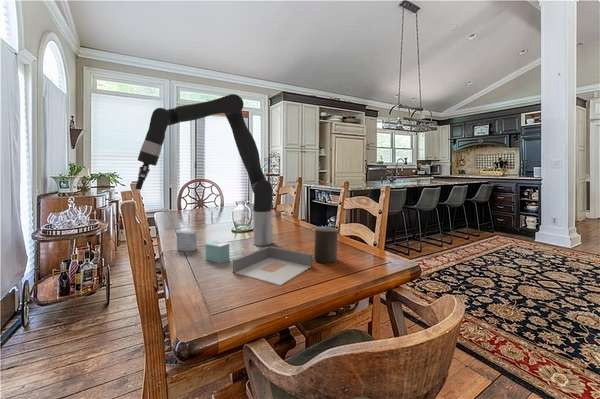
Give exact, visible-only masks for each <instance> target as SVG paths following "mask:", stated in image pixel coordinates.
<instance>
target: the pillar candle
mask: <svg viewBox="0 0 600 399" xmlns="http://www.w3.org/2000/svg"><path fill="white" fill-rule="evenodd" d="M338 235H339V230H338V228H336V227H331V226H317V227H315V228H314V253H313V255H314V256H313V260H314V261H315V260H316V261H318V262H317V263H319V262H321V264H324V263H329V264H332V263H331V262H335V261H336V260H337V261H338ZM316 261H315V262H316ZM337 261H336V262H337ZM336 262H335V263H336Z"/></svg>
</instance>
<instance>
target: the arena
mask: <svg viewBox="0 0 600 399" xmlns="http://www.w3.org/2000/svg"><path fill="white" fill-rule="evenodd" d="M313 255H314V253H313V254H312V253H307V252H303V251H298V250H292V249H288V248H281V247H276V246H271V245H266V246H263V247H261V248H259V249H257V250H254V251H251V252H249V253H246V254H244V255H241V256H239V257H238V256H237V257H235V258H233V259H232V273H234V274H238V275H241V276H245V277H248V278H251V279H256V280H259V281H261V282H266V283H268V284H269V283H270V284H272V285H277V286H280V287H281V286H282V285H284V284H286V283H288V282H290V281H291V280H292V279H294V278H295V277H298V276H299V275H301V274H302V273H304V272H305V270H306V271H307V270H309V269H310V268H312V267H313V260H314V256H313ZM311 266H312V267H311ZM308 268H309V269H308Z"/></svg>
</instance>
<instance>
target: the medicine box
mask: <svg viewBox="0 0 600 399" xmlns="http://www.w3.org/2000/svg"><path fill="white" fill-rule="evenodd" d="M175 234H176V249H177V251H178V252H194V251H196V250H197V249H198V242H197V240H198V239H197V238H198V237H197V231H192V230H190V231H189V230H187V231H186V230H180V231H178V232H177V233H175Z"/></svg>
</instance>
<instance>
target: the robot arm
mask: <svg viewBox="0 0 600 399" xmlns="http://www.w3.org/2000/svg"><path fill="white" fill-rule="evenodd" d="M243 109H244V101H243V99H242V97H241V96H240V95H239V94H236V93H230V94H227V95H224V96H221V97H219V98H216V99H215V98H214V99H212V100H207V101H201V102H194V103H188V104H183V105H177V106H176V107H174V108H168V109H166V108H164V107H156V108H155V109H154V110H153V111H152V113H151V117H150V122H149V125H148V129H147V132H146V135H145V137H144V141H143V143H142V146H141V148H140V151H139V154H138V157H137V161H139V162H142V163H143V164H142V165H140V166H139V169H138V170H139V171H138V174H137V176H138V177H137V181H136V182H137V183H136V185H135V190H138V191H141V190H142V188H143V185H144V182H145V180H146V179H147V177H148V174H149V173H150V171H151V168H150V166H157V164H158V161H159V159H160V155H161V152H162V147H163V144H164V141H165V137H166V131H167V128H168V126H173V125H176V124H178V123H179V124H180V123H184V122H185V123H186V122H190V121H191V122H192V121H196V120H201V119H204V118H207V117H209V116H210V117H211V116H214V115H218V114H224V116H225V117H226V119H227V121H228V124H229V126H230V128H231V131H232V135H233V139H234V142H235V144H236V145H235V146H236V148H237V151H238V153H239V156H240V158H241V161H242V163H243V165H244V168H245V170H246V172H247V175H248V179H249V182H250V186H251V191H252V192H253V206H252V217H253V222H252V225H253V229H252V230H253V236H252V238H253V245H255V246H259V247H262V246H263V247H266V246H271V244H272V243H273V224H272V205H273V185H272V183H271V182H270V181H269V180H267V179H266V177H265V175H264V172H263V170H262V165H261V159H260V153H259V150H258V146H257V143H256V140H255V138H254V137H253V135H252V132H251V131H250V130H249V128H248V127H247V124H246V121H245V120H244V116H243V113H242V112H243Z"/></svg>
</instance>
